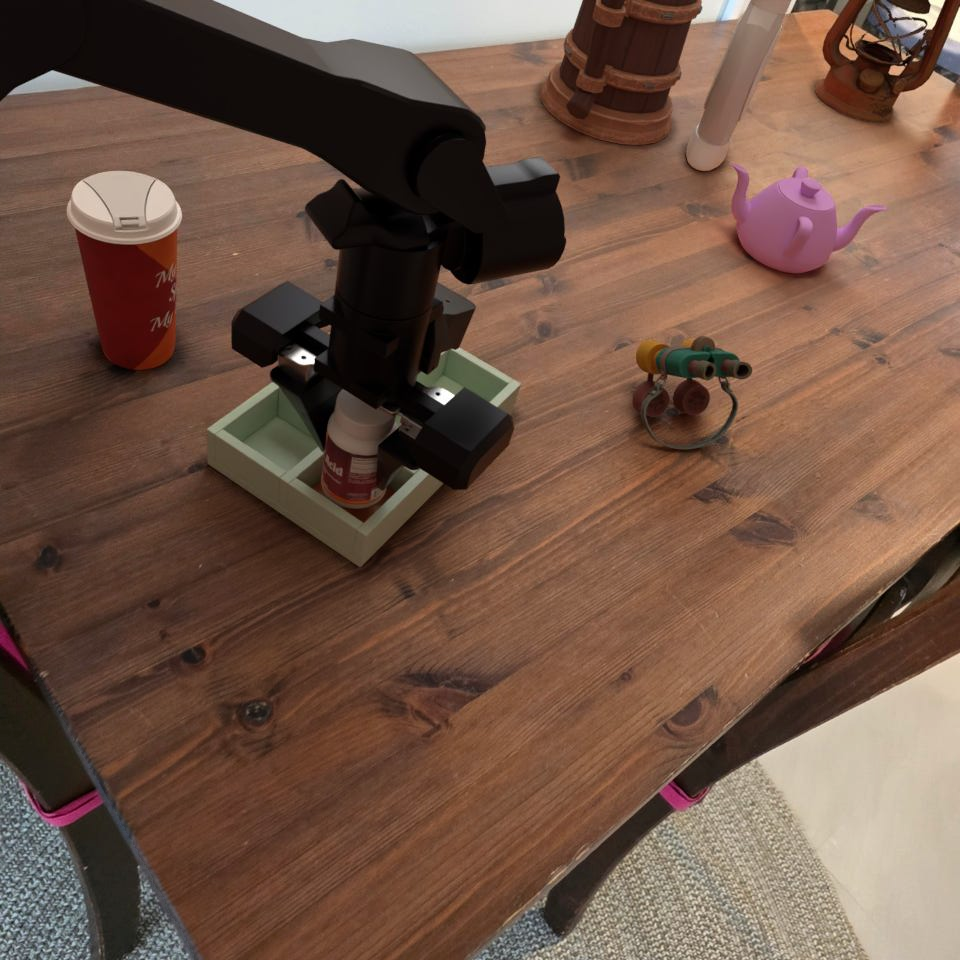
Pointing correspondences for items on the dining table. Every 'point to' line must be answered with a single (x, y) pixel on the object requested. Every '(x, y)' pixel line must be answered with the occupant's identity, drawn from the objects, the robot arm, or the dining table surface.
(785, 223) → the teapot
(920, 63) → the lantern
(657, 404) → the binoculars
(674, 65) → the mug
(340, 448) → the pill bottle
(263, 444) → the divided tray
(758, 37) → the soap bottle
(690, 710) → the dining table surface
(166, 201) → the paper cup
